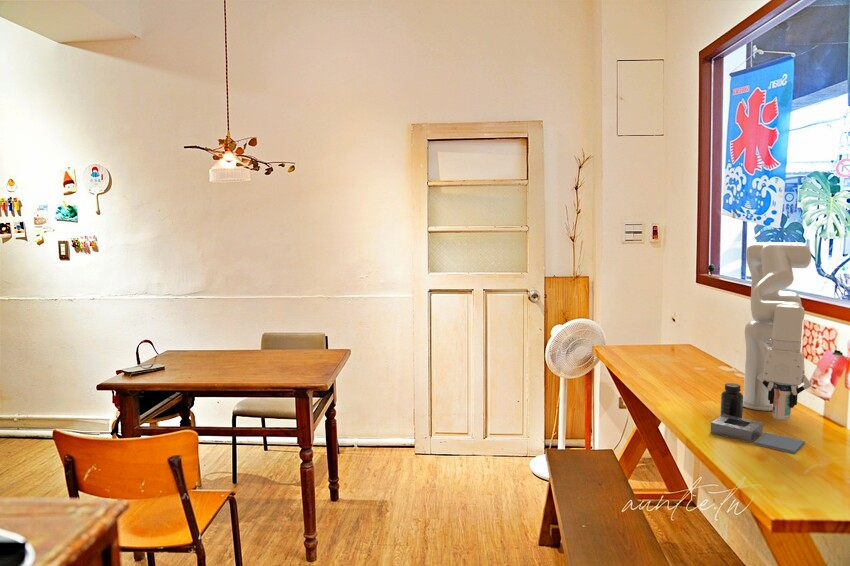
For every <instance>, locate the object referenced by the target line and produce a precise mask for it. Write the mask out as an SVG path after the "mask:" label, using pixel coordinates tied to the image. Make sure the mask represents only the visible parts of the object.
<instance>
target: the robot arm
mask: <svg viewBox="0 0 850 566" xmlns="http://www.w3.org/2000/svg"><path fill="white" fill-rule="evenodd" d="M745 257H746V258H745V259H746V263H747V267H748V269H749V272H750V277H751V285H750V286H751V288H750V289H751V291H750V311H751V317H752V320H751V321H749V322H747V323H746V325H745V327H744V338H745V363H744V364H745V366H744V367H745V368H744V380H743V381H744V382H743V383H744V384H743V394H742V395H743V408H747V409H751V410H755V411H767V412H769V411H770V412H771V411H773V397H774V383H779V384H785V385H791V389H792V394H791V395H790V408H791V409H793V408H795V406H797V404H798V398H799V397H798V395H799V394H800V393H802V392H803V391H806V390H808V389H809V388H811V387H812V383H811V381H810V380H809V379H808V377H807V376H806V374H805V358H804V351H803V350H802V349H801V348H802V337H803V336H802V335H803V334H802V333H803V322H804V319H805V308H804V307H803V304H802V300H801V299H802V298H801V296H800V295H799V294H798V293H796V292H794V291H783V290H785V289H787V288H789V287H790V286H791V285H792V284H793V282H794V273H793V269H806V268H808V267H809V266H810V263H811V261H812V252H811V249H810V247H809V245H808V244H807V243H805V242H785V241H784V242H781V241H780V242H779V241H778V242H772V241H771V242H767V241H766V242H764V241H763V242H762V241H761V242H753V243H751V244H749V245H748V246H747V248H746V256H745ZM802 384H803V385H802ZM800 385H801V386H800Z"/></svg>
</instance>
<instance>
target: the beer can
mask: <svg viewBox="0 0 850 566" xmlns="http://www.w3.org/2000/svg"><path fill="white" fill-rule="evenodd" d="M791 394H792V389H791V385H785V384H779V383H774V397H773V410H772V413H771V414H772V415H771V416H772V418H774V419H775V420H777V421H784V422H785V421H788V420H791V413H792V408H790V395H791Z"/></svg>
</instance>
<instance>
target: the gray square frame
mask: <svg viewBox="0 0 850 566" xmlns="http://www.w3.org/2000/svg"><path fill="white" fill-rule="evenodd" d="M709 429H710V434H712V435H717V436H722V437H725V438H729V439H733V440H737V441H742V440H744V441H743V442H746V441H747V442H746V443H750V442H751V443H753V442H754V441H755V440H757V439H758V438H759V437H760V436H761V435H763V434H764V433H763V431H764V422H762V421H758V420H753V419H749V418H744V417H742V418H740V417H735V416H730V415H725V414H723V415H722V416H719V417H717V418H716V419H714V420H713V421H711V422H710V428H709Z"/></svg>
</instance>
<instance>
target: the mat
mask: <svg viewBox="0 0 850 566" xmlns="http://www.w3.org/2000/svg"><path fill="white" fill-rule="evenodd" d="M805 443H806V441H805V440H803V439H798V438H793V437H789V436H784V435H780V434H775V433H770V432H764V433H762V434H761V435H760V436H759V437H757V438H756V439H755V440H754V441H753V445H754V444H755V446H760V447H764V448H767V449H771V450H776V449H777V450H776V451H779V452H780V451H781V452H785V453H790V454H794V455H795V454H796V453H798V451H799V450H800V449H801V448H802V447H803V446H804V445H805Z"/></svg>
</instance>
